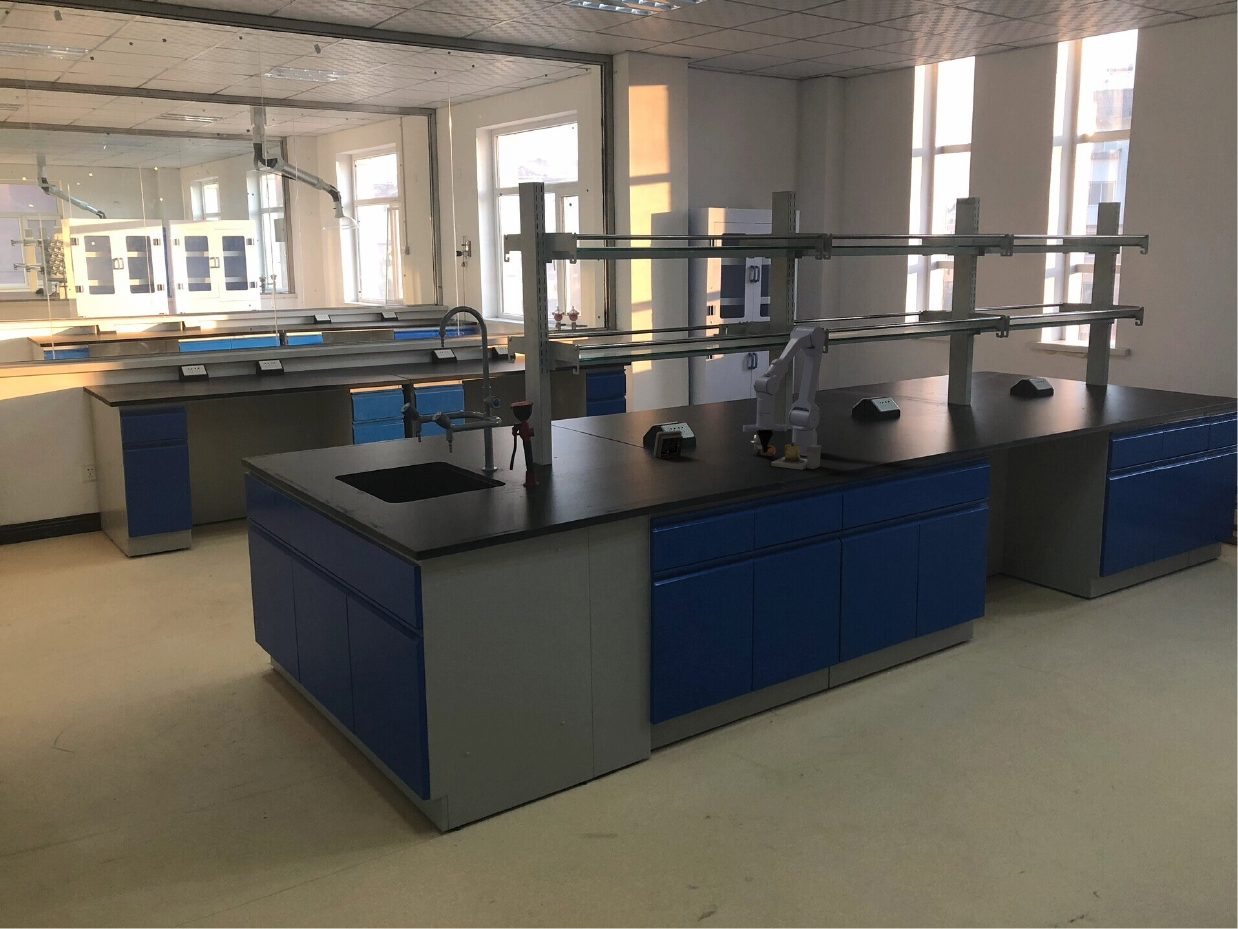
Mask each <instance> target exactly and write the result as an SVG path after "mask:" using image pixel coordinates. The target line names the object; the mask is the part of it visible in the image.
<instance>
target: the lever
mask: <svg viewBox="0 0 1238 929" xmlns="http://www.w3.org/2000/svg"><path fill="white" fill-rule="evenodd" d="M758 449H761V451H762V446H761V444H760V445H758ZM776 452H777V448H776V447H775V446H773V445H770V444H768V445H767V449H766V453H765V455H767V456H768V457H773V456H774V455H776Z"/></svg>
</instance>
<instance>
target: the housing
mask: <svg viewBox="0 0 1238 929" xmlns="http://www.w3.org/2000/svg"><path fill="white" fill-rule="evenodd" d="M784 457H785V461H788V462H798V461H800V458H801V455H800V445H797V444H795V443H794V442H792V441H791V442H790V443H787V444H785V445H784Z"/></svg>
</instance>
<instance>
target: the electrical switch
mask: <svg viewBox="0 0 1238 929" xmlns="http://www.w3.org/2000/svg"><path fill="white" fill-rule="evenodd" d="M682 434H683V432H682V431H681V430H680V429H678V430H669V431H657V433H656V436H655V441H654V442H655V444H654V450H653V456H654V458H659V459H670V458H672V459H673V458H680V457H681V453H682V446H683V441H684V436H683V435H682Z"/></svg>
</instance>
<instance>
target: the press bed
mask: <svg viewBox="0 0 1238 929" xmlns="http://www.w3.org/2000/svg"><path fill="white" fill-rule="evenodd" d="M821 452H822V445H819V444H817V445H810V446H808V447H807V456H806V458H801V457H800V461H798V462H788V461H785V456H783V457H780V458H778V459H776V460H774V461H771V462H770V464H771V467H779V468H787V469H794V470H802V471H803V470H805V469H811V470H815V469H817V468H819V467H820V466H821Z"/></svg>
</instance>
